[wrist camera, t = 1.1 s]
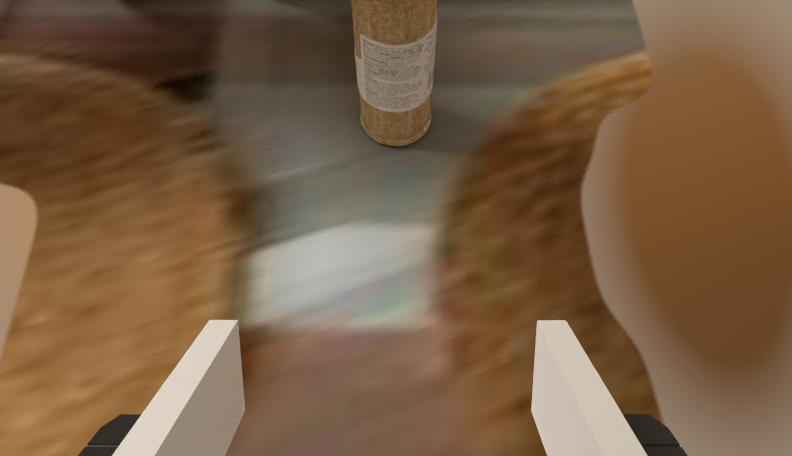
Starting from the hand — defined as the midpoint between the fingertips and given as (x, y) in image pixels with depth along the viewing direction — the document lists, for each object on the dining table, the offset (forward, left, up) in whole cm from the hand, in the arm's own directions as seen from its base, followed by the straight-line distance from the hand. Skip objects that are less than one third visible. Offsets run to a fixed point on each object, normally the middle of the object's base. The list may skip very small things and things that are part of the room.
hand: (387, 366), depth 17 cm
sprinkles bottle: (-15, +13, -14) cm, 24 cm away
